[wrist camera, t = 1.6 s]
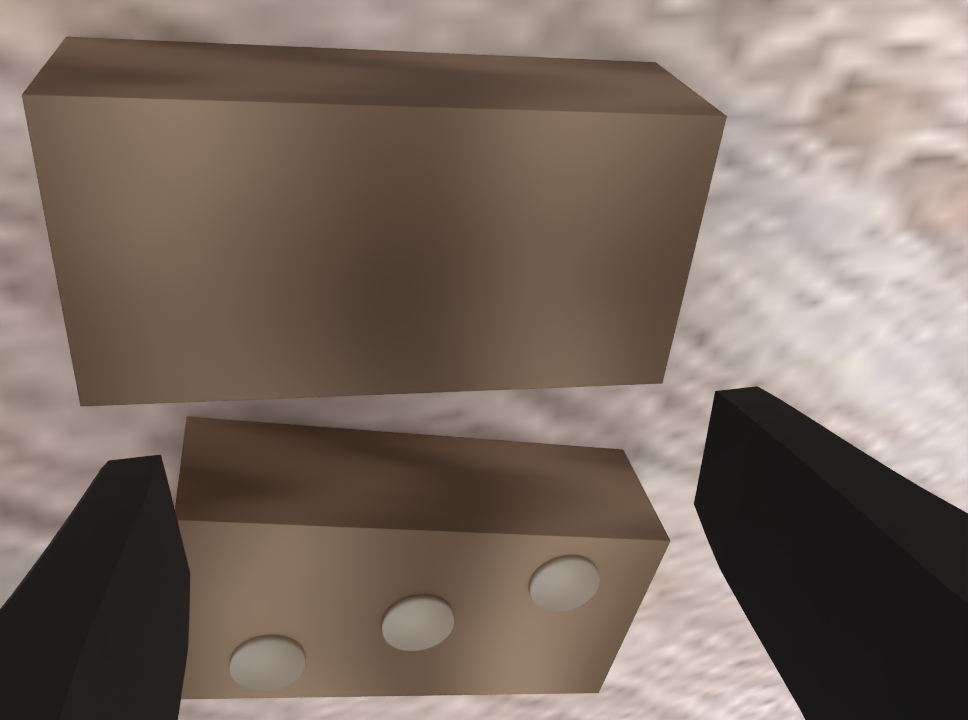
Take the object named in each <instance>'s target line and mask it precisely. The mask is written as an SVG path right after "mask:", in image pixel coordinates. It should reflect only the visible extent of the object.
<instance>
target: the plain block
mask: <svg viewBox="0 0 968 720" xmlns="http://www.w3.org/2000/svg"><path fill="white" fill-rule="evenodd" d="M22 98H23V103H24V109H25V114H26V119H27V125H28V130H29V135H30V141H31V146H32V151H33V156H34V162H35V167H36V172H37V178H38V183H39V188H40V194H41V199H42V204H43V209H44V215H45V220H46V225H47V231H48V236H49V241H50V247H51V252H52V257H53V262H54V268H55V273H56V278H57V284H58V289H59V294H60V300H61V305H62V310H63V315H64V321H65V326H66V331H67V337H68V342H69V347H70V353H71V358H72V363H73V368H74V374H75V379H76V384H77V390H78V395H79V400H80V406H103V405H128V404H153V403H179V402H204V401H229V400H255V399H280V398H306V397H331V396H356V395H382V394H407V393H432V392H458V391H483V390H508V389H534V388H559V387H585V386H610V385H635V384H661V383H663V378H664V374H665V370H666V366H667V362H668V358H669V354H670V349H671V345H672V341H673V337H674V333H675V329H676V325H677V320H678V316H679V312H680V308H681V304H682V300H683V296H684V291H685V287H686V283H687V279H688V275H689V271H690V266H691V262H692V258H693V254H694V250H695V246H696V242H697V237H698V233H699V229H700V225H701V221H702V217H703V213H704V208H705V204H706V200H707V196H708V192H709V188H710V184H711V179H712V175H713V171H714V167H715V163H716V159H717V155H718V150H719V146H720V142H721V138H722V134H723V130H724V126H725V121H726V117H727V116H726V115H724V114H723V113H722V112H721V111H719V110H718V109H717V108H715V107H714V106H713V105H711V104H710V103H709V102H707V101H706V100H705V99H703V98H702V97H701V96H699V95H698V94H697V93H695V92H694V91H693V90H691V89H690V88H689V87H687V86H686V85H685V84H684V83H682V82H681V81H680V80H678V79H677V78H676V77H674V76H673V75H672V74H670V73H669V72H668V71H666V70H665V69H664V68H662V67H661V66H660V65H658V64H657V63H656V62H633V61H610V60H587V59H564V58H541V57H518V56H495V55H472V54H449V53H426V52H403V51H380V50H358V49H335V48H312V47H289V46H266V45H243V44H220V43H197V42H174V41H151V40H128V39H105V38H82V37H66V38H65V39H64V41H63V42H62V43H61V44H60V46H59V47H58V48H57V50H56V51H55V52H54V54H53V55H52V56H51V57H50V59H49V60H48V61H47V63H46V64H45V65H44V67H43V68H42V69H41V71H40V72H39V73H38V74H37V76H36V77H35V78H34V80H33V81H32V82H31V84H30V85H29V86H28V87H27V89H26V90H25V91H24V93H23V94H22Z"/></svg>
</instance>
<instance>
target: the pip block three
mask: <svg viewBox="0 0 968 720" xmlns="http://www.w3.org/2000/svg"><path fill="white" fill-rule="evenodd" d="M175 513H176V517H177V521H178V525H179V529H180V533H181V537H182V541H183V545H184V549H185V553H186V557H187V561H188V566H189V570H190V615H189V642H188V654H187V661H186V668H185V675H184V682H183V688H182V695H181V699H227V698H295V697H362V696H429V695H496V694H564V693H599V691H600V689H601V687H602V685H603V682H604V680H605V678H606V676H607V674H608V672H609V670H610V668H611V666H612V663H613V661H614V659H615V657H616V655H617V653H618V651H619V649H620V647H621V644H622V642H623V640H624V638H625V636H626V634H627V632H628V630H629V628H630V625H631V623H632V621H633V619H634V617H635V615H636V613H637V611H638V608H639V606H640V604H641V602H642V600H643V598H644V596H645V594H646V592H647V589H648V587H649V585H650V583H651V581H652V579H653V577H654V575H655V573H656V570H657V568H658V566H659V564H660V562H661V560H662V558H663V556H664V554H665V551H666V549H667V547H668V545H669V543H670V539H669V537H668V535H667V533H666V531H665V529H664V527H663V525H662V524H661V522H660V520H659V518H658V516H657V514H656V512H655V510H654V508H653V506H652V504H651V502H650V500H649V499H648V497H647V495H646V493H645V491H644V489H643V487H642V485H641V483H640V481H639V479H638V477H637V475H636V473H635V472H634V470H633V468H632V466H631V464H630V462H629V460H628V458H627V456H626V454H625V452H624V450H620V449H607V448H594V447H581V446H567V445H554V444H541V443H528V442H514V441H501V440H488V439H475V438H461V437H448V436H435V435H422V434H408V433H395V432H382V431H369V430H356V429H342V428H329V427H316V426H303V425H289V424H276V423H263V422H250V421H236V420H223V419H210V418H197V417H187V419H186V427H185V435H184V443H183V451H182V459H181V466H180V474H179V482H178V490H177V498H176V506H175Z"/></svg>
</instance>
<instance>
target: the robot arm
mask: <svg viewBox="0 0 968 720" xmlns="http://www.w3.org/2000/svg"><path fill="white" fill-rule="evenodd" d="M694 506H695V508H696V511H697V513H698V516H699V519H700V521H701V524H702V526H703V529H704V532H705V534H706V537H707V539H708V542H709V544H710V547H711V549H712V551H713V554H714V556H715V558H716V561H717V563H718V565H719V568H720V570H721V572H722V573H723V575H724V577H725V579H726V581H727V583H728V584H729V586H730V588H731V590H732V592H733V593H734V595H735V597H736V599H737V600H738V602H739V604H740V606H741V608H742V609H743V611H744V613H745V615H746V616H747V618H748V620H749V622H750V623H751V625H752V627H753V629H754V630H755V632H756V634H757V635H758V637H759V639H760V641H761V642H762V644H763V646H764V648H765V649H766V651H767V653H768V655H769V656H770V658H771V660H772V662H773V663H774V665H775V667H776V668H777V670H778V672H779V674H780V675H781V677H782V679H783V681H784V682H785V684H786V686H787V688H788V689H789V691H790V693H791V695H792V696H793V698H794V700H795V701H796V703H797V705H798V707H799V708H800V710H801V712H802V714H803V716H804V718H805V720H968V513H966V512H964V511H963V510H961V509H959V508H957V507H955V506H954V505H952V504H950V503H948V502H946V501H945V500H943V499H941V498H939V497H937V496H936V495H934V494H932V493H930V492H928V491H927V490H925V489H923V488H922V487H920V486H918V485H917V484H915V483H913V482H911V481H910V480H908V479H906V478H905V477H903V476H901V475H900V474H898V473H896V472H895V471H893V470H891V469H890V468H888V467H887V466H885V465H883V464H882V463H880V462H878V461H877V460H875V459H874V458H872V457H870V456H869V455H867V454H866V453H864V452H862V451H861V450H859V449H858V448H856V447H854V446H853V445H851V444H850V443H848V442H847V441H845V440H843V439H842V438H840V437H839V436H837V435H836V434H834V433H832V432H831V431H829V430H828V429H826V428H825V427H823V426H822V425H820V424H818V423H817V422H815V421H814V420H812V419H811V418H809V417H807V416H806V415H804V414H803V413H801V412H800V411H798V410H796V409H795V408H793V407H792V406H790V405H788V404H787V403H785V402H784V401H782V400H780V399H779V398H777V397H775V396H774V395H772V394H770V393H768V392H767V391H765V390H763V389H761V388H759V387H757V386H756V387H747V388H739V389H730V390H721V391H715V395H714V401H713V406H712V411H711V417H710V422H709V427H708V432H707V438H706V443H705V448H704V454H703V459H702V464H701V469H700V475H699V480H698V485H697V491H696V496H695V501H694ZM189 615H190V570H189V566H188V561H187V557H186V553H185V549H184V545H183V541H182V537H181V533H180V529H179V525H178V521H177V517H176V513H175V509H174V505H173V501H172V497H171V493H170V489H169V485H168V481H167V477H166V473H165V469H164V465H163V461H162V457H161V455H154V456H145V457H136V458H127V459H119V460H110V461H108V462H107V463H106V464H105V465H104V466H103V467H102V468H101V470H100V471H99V473H98V474H97V476H96V477H95V479H94V480H93V481H92V483H91V484H90V486H89V487H88V489H87V490H86V492H85V493H84V495H83V496H82V498H81V499H80V501H79V502H78V504H77V505H76V507H75V508H74V510H73V511H72V513H71V514H70V515H69V517H68V518H67V520H66V521H65V523H64V524H63V526H62V527H61V528H60V530H59V531H58V533H57V534H56V535H55V537H54V538H53V540H52V541H51V543H50V544H49V545H48V547H47V548H46V549H45V551H44V552H43V553H42V555H41V556H40V558H39V559H38V560H37V562H36V563H35V564H34V566H33V567H32V568H31V570H30V571H29V572H28V574H27V575H26V576H25V578H24V579H23V580H22V582H21V583H20V584H19V586H18V587H17V588H16V590H15V591H14V592H13V594H12V595H11V596H10V598H9V599H8V600H7V601H6V603H5V604H4V605H3V606H2V608H1V609H0V720H178V715H179V708H180V702H181V695H182V688H183V682H184V675H185V668H186V661H187V654H188V642H189Z"/></svg>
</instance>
